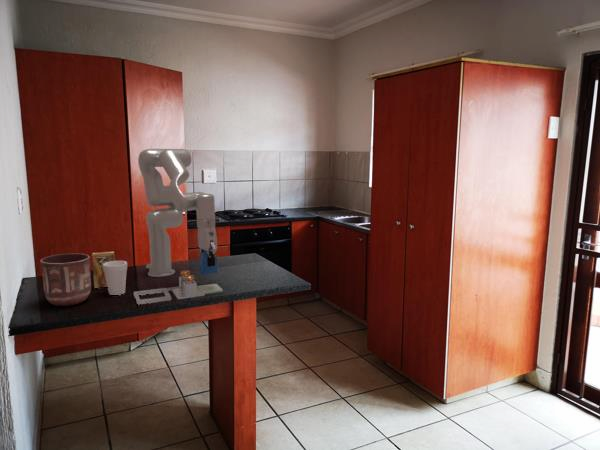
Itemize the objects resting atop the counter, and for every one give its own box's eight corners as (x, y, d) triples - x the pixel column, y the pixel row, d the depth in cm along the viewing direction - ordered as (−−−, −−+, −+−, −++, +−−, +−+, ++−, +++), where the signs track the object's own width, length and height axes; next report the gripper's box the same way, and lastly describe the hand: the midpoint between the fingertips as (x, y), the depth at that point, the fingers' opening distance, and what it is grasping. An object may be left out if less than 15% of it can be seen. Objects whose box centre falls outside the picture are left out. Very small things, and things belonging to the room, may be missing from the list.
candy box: (116, 284, 207) (114, 251, 204) (116, 287, 203) (113, 253, 200) (94, 286, 204) (92, 252, 201) (94, 289, 200) (91, 254, 197)
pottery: (40, 312, 172) (37, 265, 169) (45, 298, 188) (42, 255, 185) (92, 306, 179) (90, 261, 176) (93, 293, 195) (90, 251, 192)
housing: (137, 304, 180) (136, 290, 179) (133, 294, 192) (132, 281, 192) (204, 295, 191) (204, 282, 190) (196, 286, 204) (196, 273, 203)
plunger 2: (186, 294, 188) (185, 278, 187) (184, 291, 192) (183, 275, 191) (195, 293, 190) (195, 276, 189) (193, 290, 193) (193, 274, 192)
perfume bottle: (217, 272, 196) (216, 245, 194) (203, 274, 194) (202, 246, 192) (213, 269, 202) (212, 242, 200) (199, 271, 199) (198, 244, 197)
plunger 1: (182, 289, 195) (181, 273, 194) (180, 286, 199) (179, 271, 198) (191, 288, 197) (190, 272, 196) (189, 285, 201) (188, 270, 199)
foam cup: (114, 298, 188) (112, 267, 185) (100, 294, 192) (98, 264, 190) (133, 292, 196) (131, 262, 193) (119, 288, 200) (117, 259, 198)
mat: (199, 294, 192) (199, 292, 192) (194, 288, 201) (194, 286, 201) (222, 291, 197) (222, 289, 197) (216, 285, 206) (216, 283, 205)
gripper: (223, 224, 189) (224, 267, 192) (205, 220, 203) (207, 259, 206) (206, 226, 185) (208, 269, 188) (189, 221, 199) (191, 261, 202)
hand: (207, 264), depth 197 cm, fingers closed on perfume bottle, 6 cm apart
